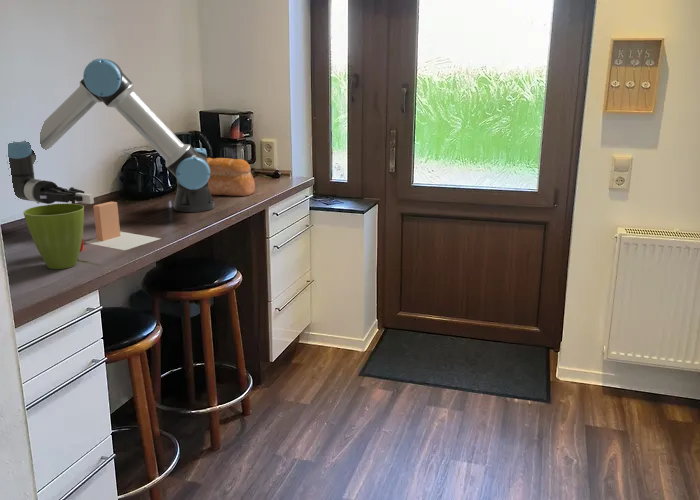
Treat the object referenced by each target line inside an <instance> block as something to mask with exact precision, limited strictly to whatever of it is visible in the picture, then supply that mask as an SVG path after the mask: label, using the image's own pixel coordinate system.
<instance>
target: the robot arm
mask: <svg viewBox="0 0 700 500" xmlns="http://www.w3.org/2000/svg"><path fill="white" fill-rule="evenodd" d="M82 77H83V78H82V79H81V80H80V81H79V87H77V88H76V89H75V91H73V92H72V94H70V95H69V96H68V97H67V98H66V99H65V100H64V101H63V102H62V103H61V104H60V105H59V106H58V107H57V108H56V109H55V110H54V111H53V112H52V113H51V114H50V115H49V116H48V117H47V118H46V119H45V120H44V121H43V122H44V124H43V126H42V129H41V132H40V144H41V147H42V148H43V149H45V150H47V149H49V148H50V149H51V148H52V147H53V146H54V145H55V144H56V143H57V142H58V141H59V140H60V139H61V138H63V136H64V135H65V134H66V133H67V132H68V131H69V130H70V129H72V127H74V126H75V125H76V124H77V122H79V120H81V118H83V117H84V116H85V115H86V114H87V113H88V111H90V110H91V109H92V108H93V107H94V106H95V105H96V104H97V103H103V104H104V105H105V106H106V107H109V108H113V109H115V110H116V111H117V112H118V113H119V114H120V115H121V116H122V117H123V118H124V119H125V120H126V121H127V122H128V123H129V124H130V125H131V126H132V127H133V128H134V129H135V130H136V131H137V132H138V133H139V135H140V136H141V137H142V138H143V139H144V140H145V141H146V142H147V143H148V144H149V145H150V146H151V147H152V148H153V149H154V150H155V151H156V153H158V154H159V156H161V157H162V158H163V160H164V161H165V168H167V170H168V171H169V172H171V174H172V175H173V176H174V177H175V178H176V184H177V186H176V187H177V188H176V194H175V198H174V201H173V209H174V210H175V211H177V212H182V213H183V212H184V213H197V212H205V211H210V210H214V208H215V200H214V198H213V195H211V193H210V190H209V186H208V180H209V178H210V168H209V165H208V164H207V158H208V154H207V150H206V148H203V147H199V148H197V147H193V146H192V145H191V144H188V143H187V144H186V143H184V142H182V141H181V140H180V139H179V138H178V136H177V135H176V134H175V133H174V132H173V131H172V130H171V129H170V128H169V127H168V125H166V123H164V121H162V120H161V118H160V117H159V116H158V115H157V114H156V113H155V112H154V111H153V110H152V109H151V108H150V107H149V106H148V105H147V103H146V102H145V101H144V100H143V99H142V98H141V97H140V96H139V95H138V94H137V92H136V91H135V90H134V83H133V81H131V80H130V79H129V78H128V76H127V75H126V74H125V73H123V70H122V69H121V67H120V66H119V65H118V64H117V63H116V62H114V61H113V60H110V59H108V58H107V59H106V58H96V59H93V60H92V61H90V62H89V63H88V64H87V65H86V66H85V68H84V70H83V76H82ZM12 142H13V143H9V144H8V157H9V162H10V163H9V164H10V168H11V175H12V183H13V188H14V192H15V195H16V196H17V197H18V198H20V199H22V200H23V201H27V202H28V201H29V202H36V204H37V205H38V204H45V205H50V204H55V202H56V203H57V202H58V203H65V204H69V203H70V202H71V204H76V203H81V204H88V205H92V204H95V200H94V194H90V193H85V191H84V190H81V189H78V188H75V187H74V186H73V187H69V188H64V187H60V186H58V184H56V183H55V182H53V181H51V180H45V179H44V180H43V179H37V178H35V171H34V162H35V160H36V155H35V153H34V151H33V150H32V149H31V145H30V143H29V142H26V141H25V140H23V141H22V140H21V142H15V141H12ZM50 149H49V150H50Z"/></svg>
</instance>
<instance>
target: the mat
mask: <svg viewBox="0 0 700 500" xmlns="http://www.w3.org/2000/svg"><path fill="white" fill-rule="evenodd" d="M120 235H121V236H119V237H116V238H112V239H109V240H105V241H100V240H97V238H94V239H90V240H89V239H88V240H86V241H83V243H84V244H88V245H94V246H100V247H105V248H108V249H109V248H111V249H115V250H120V251H127V250H130V249H133V248H137V247H140V246H144V245H147V244H149V243H152V242H156V241H158V240H162V238H161V237H160V238H159V237H155V236H154V237H153V236H149V235H148V236H147V235H142V234H135V233H131V232H124V231H120Z"/></svg>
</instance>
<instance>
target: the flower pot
mask: <svg viewBox="0 0 700 500" xmlns="http://www.w3.org/2000/svg"><path fill="white" fill-rule="evenodd" d="M23 215H24V220H25V222H26V225H27V228H28V231H29V233H30V236H31V238H32V240H33V243H34V244H35V247H36V249H37V250H38V253H39V254H40V256H41V259H42V260H43V262H44V263H45V265H46V266H47V268H48V269H50V270H63V269H69V268H72V267H74V266H76V265H77V263H78V260H79V255H80V253H81V252H80V248H81V242H82V235H83V236H84V223H85V222H84V221H85V220H84V219H85V206H84V205H82V204H80V203H79V204H78V203H75V204H72V203H52V204H45V205H38V206H33V207H29V208H26V209H25V210H24V211H23Z"/></svg>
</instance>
